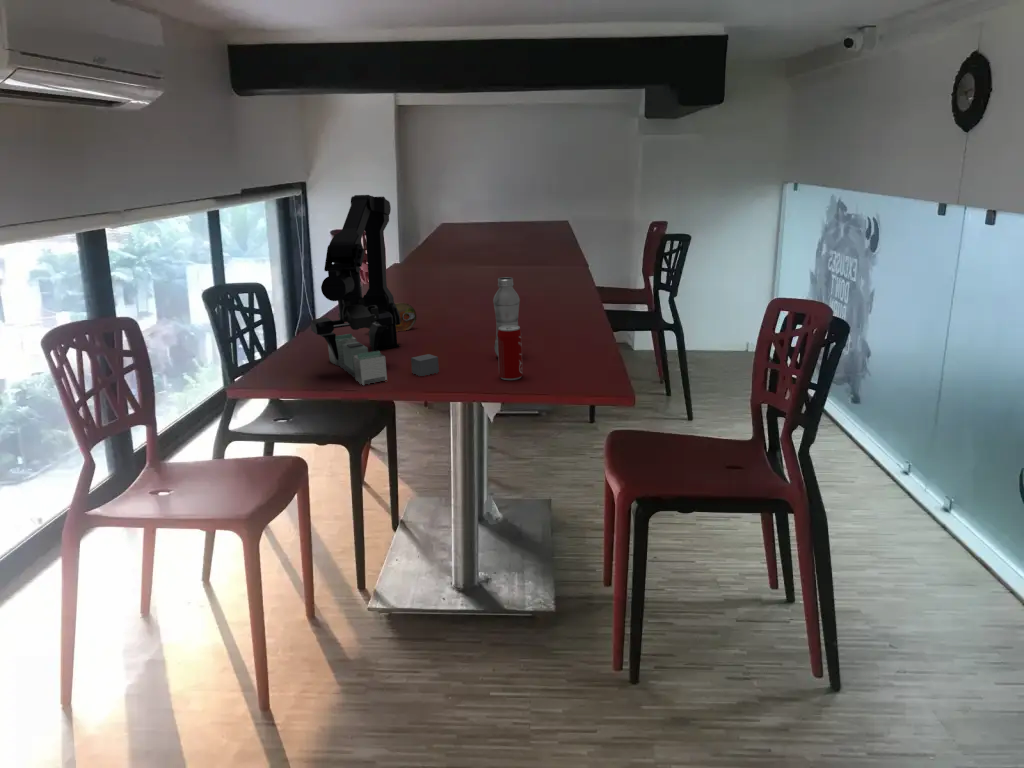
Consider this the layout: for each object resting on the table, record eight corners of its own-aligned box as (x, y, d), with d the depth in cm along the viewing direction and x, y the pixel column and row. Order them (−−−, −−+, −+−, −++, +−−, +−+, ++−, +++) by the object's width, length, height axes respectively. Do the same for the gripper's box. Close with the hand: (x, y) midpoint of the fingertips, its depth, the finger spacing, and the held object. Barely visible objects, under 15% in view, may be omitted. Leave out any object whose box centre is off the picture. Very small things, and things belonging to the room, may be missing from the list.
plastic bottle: (491, 356, 198) (487, 277, 193) (515, 352, 201) (512, 275, 195) (500, 361, 193) (497, 281, 187) (525, 358, 195) (523, 278, 189)
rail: (352, 357, 202) (349, 331, 200) (387, 381, 180) (384, 352, 178) (329, 361, 199) (326, 335, 197) (362, 385, 177) (359, 356, 175)
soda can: (523, 380, 177) (522, 328, 174) (499, 381, 177) (497, 329, 173) (521, 373, 183) (520, 323, 179) (498, 374, 182) (496, 324, 179)
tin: (367, 336, 225) (365, 307, 223) (365, 334, 228) (362, 305, 225) (417, 329, 231) (415, 301, 228) (414, 327, 234) (412, 299, 231)
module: (360, 361, 193) (358, 340, 192) (369, 367, 187) (367, 346, 186) (344, 363, 191) (342, 343, 190) (353, 370, 186) (351, 348, 184)
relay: (429, 369, 189) (428, 353, 187) (439, 373, 186) (437, 356, 184) (412, 374, 186) (410, 357, 184) (421, 377, 183) (419, 361, 181)
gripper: (319, 303, 173) (327, 370, 178) (398, 293, 182) (404, 357, 186) (306, 295, 183) (314, 360, 187) (382, 286, 191) (387, 348, 196)
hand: (355, 356), depth 189 cm, fingers open, 9 cm apart
